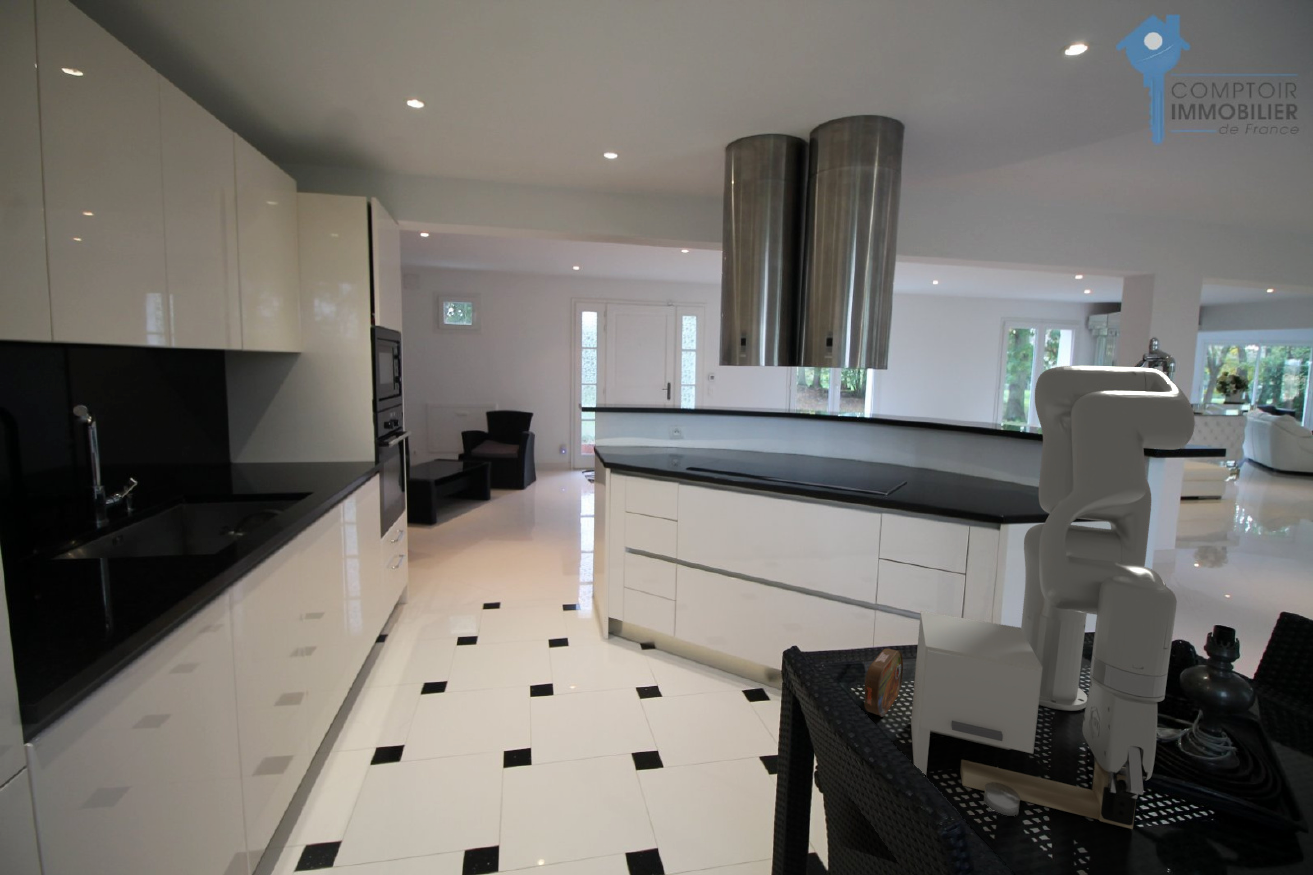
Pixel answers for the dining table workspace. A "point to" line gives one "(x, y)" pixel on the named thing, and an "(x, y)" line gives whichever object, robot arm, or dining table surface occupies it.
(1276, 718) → the dining table surface
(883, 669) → the tin
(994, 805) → the puck
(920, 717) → the cabinet
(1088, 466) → the robot arm
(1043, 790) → the wooden l-shaped bar
